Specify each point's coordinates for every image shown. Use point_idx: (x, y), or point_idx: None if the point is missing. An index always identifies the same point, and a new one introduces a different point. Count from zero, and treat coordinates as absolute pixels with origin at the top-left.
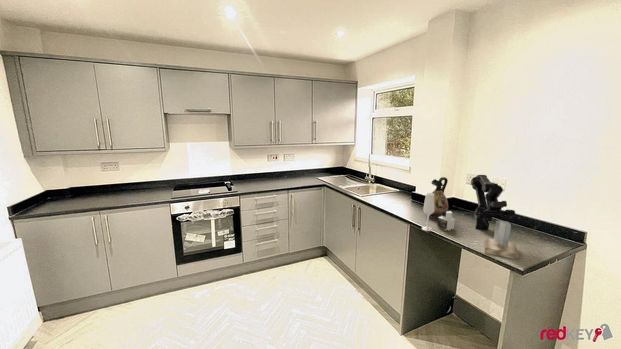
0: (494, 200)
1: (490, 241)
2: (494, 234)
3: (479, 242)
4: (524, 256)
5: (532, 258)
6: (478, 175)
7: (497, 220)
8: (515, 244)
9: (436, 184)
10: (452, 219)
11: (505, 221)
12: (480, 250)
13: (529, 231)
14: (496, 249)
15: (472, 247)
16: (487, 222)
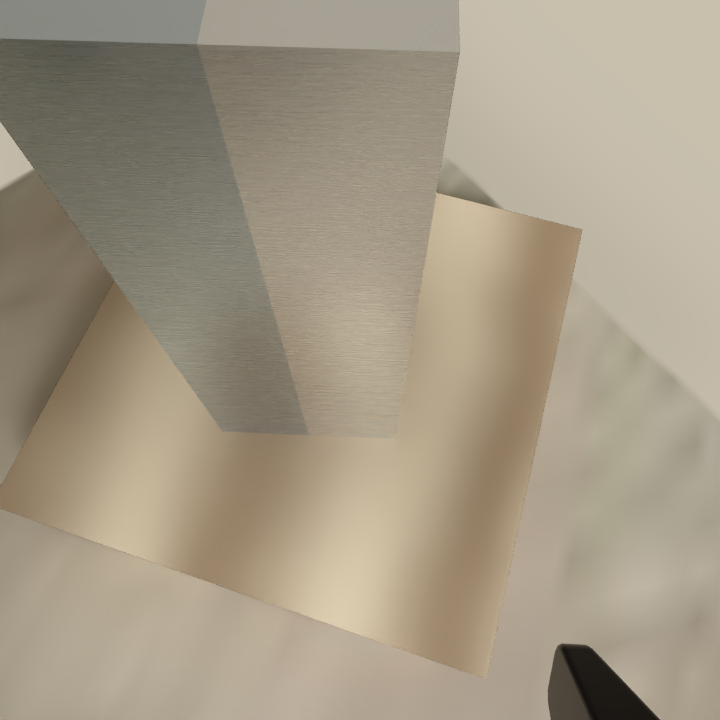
0: None
1: (427, 485)
2: (405, 370)
3: (550, 653)
4: (74, 284)
5: (8, 253)
6: None
7: (400, 47)
8: (23, 450)
9: None
10: None
11: (48, 4)
12: (597, 326)
13: None
14: (439, 196)
15: (696, 399)
16: (605, 717)
